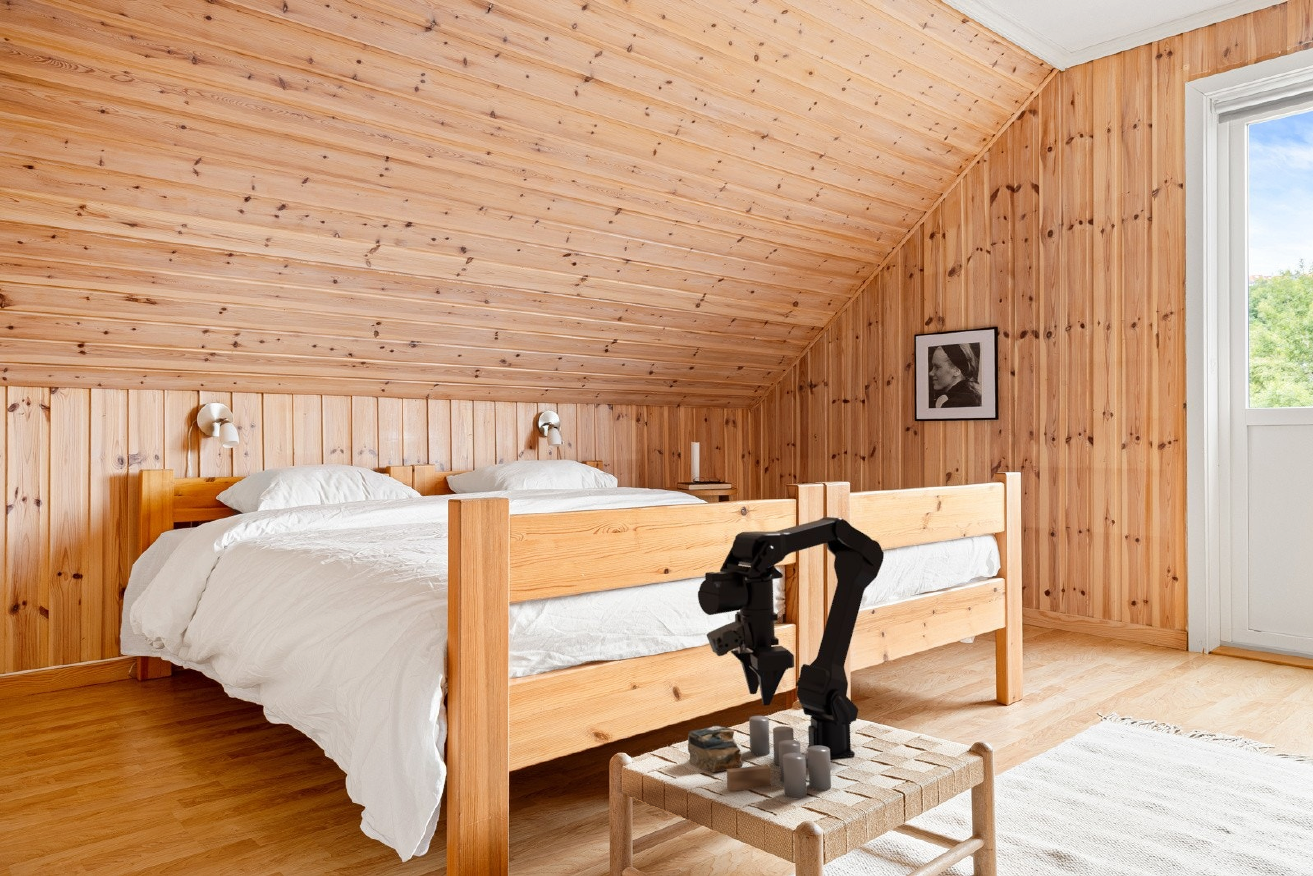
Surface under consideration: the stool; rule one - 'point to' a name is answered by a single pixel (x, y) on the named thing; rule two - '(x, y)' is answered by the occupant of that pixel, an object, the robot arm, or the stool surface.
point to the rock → (714, 749)
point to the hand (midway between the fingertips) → (759, 699)
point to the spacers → (791, 758)
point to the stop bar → (748, 777)
